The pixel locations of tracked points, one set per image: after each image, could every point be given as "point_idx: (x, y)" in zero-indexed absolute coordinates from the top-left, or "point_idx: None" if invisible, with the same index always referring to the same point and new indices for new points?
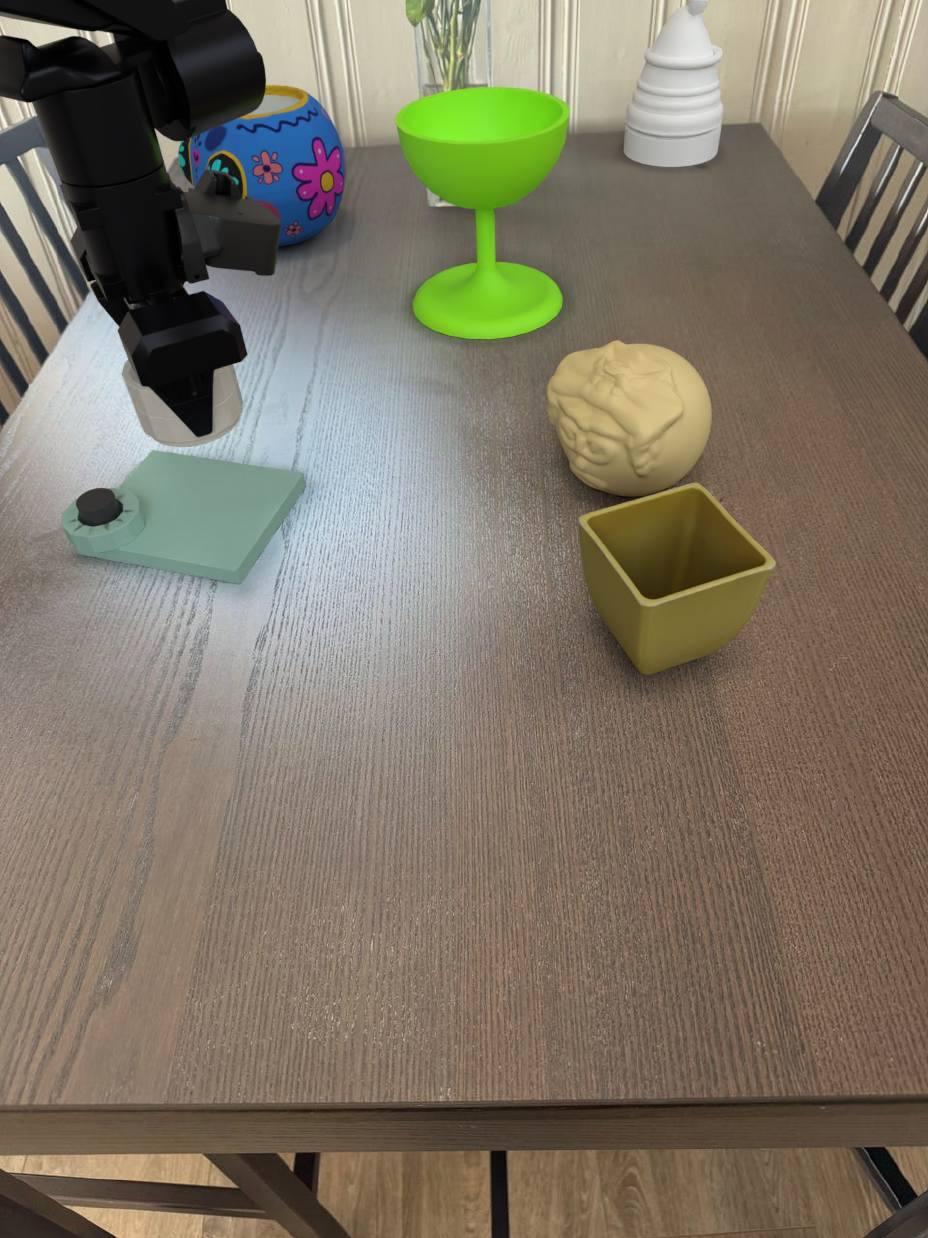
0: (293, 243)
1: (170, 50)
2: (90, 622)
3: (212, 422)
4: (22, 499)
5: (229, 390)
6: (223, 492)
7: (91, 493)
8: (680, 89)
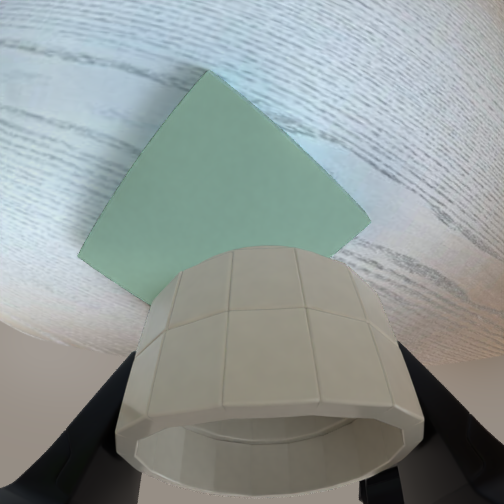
0: None
1: None
2: None
3: (414, 357)
4: (119, 349)
5: (389, 345)
6: (201, 195)
7: None
8: None
